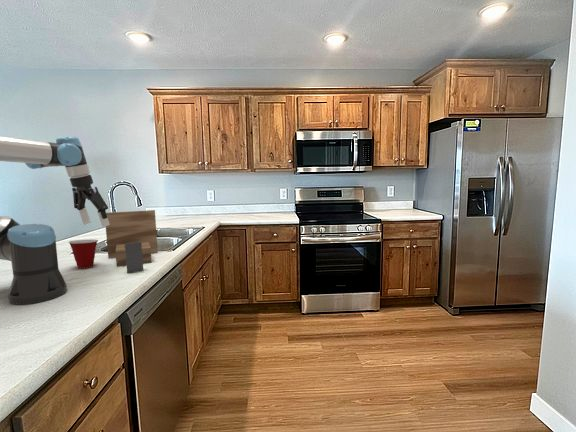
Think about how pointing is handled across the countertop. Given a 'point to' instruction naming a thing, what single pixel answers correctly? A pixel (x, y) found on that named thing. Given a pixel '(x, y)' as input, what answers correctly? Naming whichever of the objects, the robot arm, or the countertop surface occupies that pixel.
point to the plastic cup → (84, 252)
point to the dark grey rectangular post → (134, 257)
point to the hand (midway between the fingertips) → (96, 224)
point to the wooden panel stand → (131, 234)
